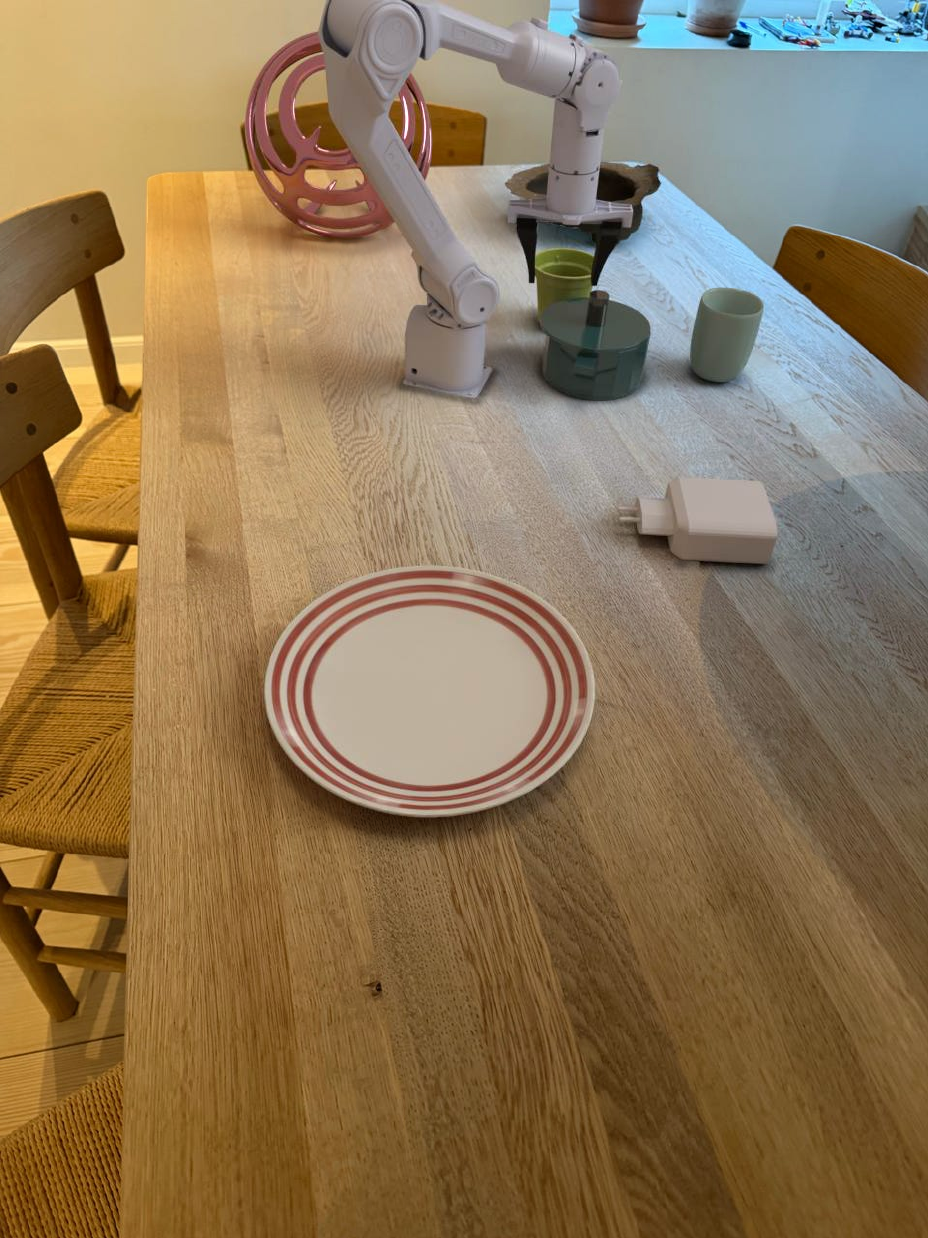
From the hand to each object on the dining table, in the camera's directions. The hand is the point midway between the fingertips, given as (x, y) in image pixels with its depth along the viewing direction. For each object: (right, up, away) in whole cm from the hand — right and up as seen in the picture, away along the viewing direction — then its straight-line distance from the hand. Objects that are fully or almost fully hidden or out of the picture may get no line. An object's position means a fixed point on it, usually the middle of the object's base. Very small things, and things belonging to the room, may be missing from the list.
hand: (562, 280), depth 118 cm
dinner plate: (-15, -49, -36) cm, 62 cm away
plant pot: (+1, -1, +14) cm, 14 cm away
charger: (+11, -33, -18) cm, 40 cm away
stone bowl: (+7, +23, +40) cm, 46 cm away
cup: (+20, -10, +6) cm, 23 cm away
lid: (+4, -5, 0) cm, 7 cm away
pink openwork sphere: (-32, +20, +34) cm, 51 cm away
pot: (+4, -10, +5) cm, 12 cm away
